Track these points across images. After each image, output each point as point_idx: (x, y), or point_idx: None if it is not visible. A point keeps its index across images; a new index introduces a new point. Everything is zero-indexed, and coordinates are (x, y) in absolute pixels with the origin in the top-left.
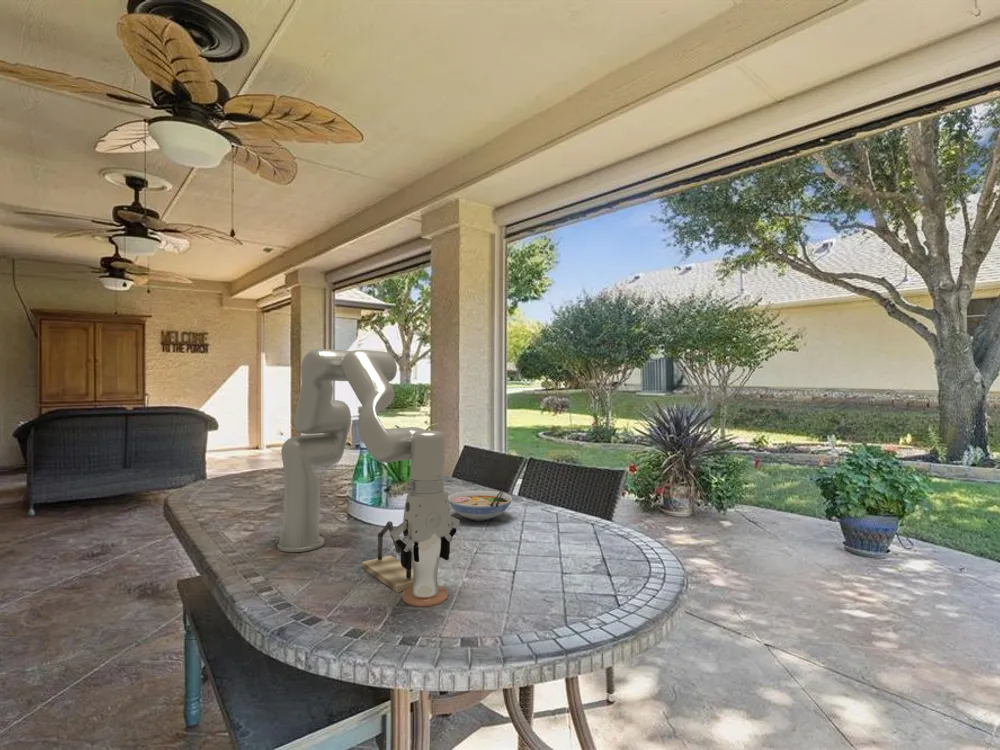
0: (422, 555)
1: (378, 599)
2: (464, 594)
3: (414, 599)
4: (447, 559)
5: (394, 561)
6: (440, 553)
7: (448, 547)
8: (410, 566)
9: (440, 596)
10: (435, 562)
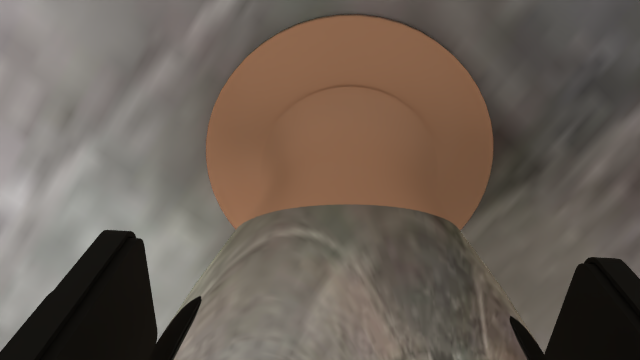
0: (521, 319)
1: (553, 281)
2: (121, 22)
3: (449, 141)
4: (124, 231)
5: None
6: (213, 277)
7: (36, 329)
8: (613, 275)
9: (295, 70)
10: (326, 201)
